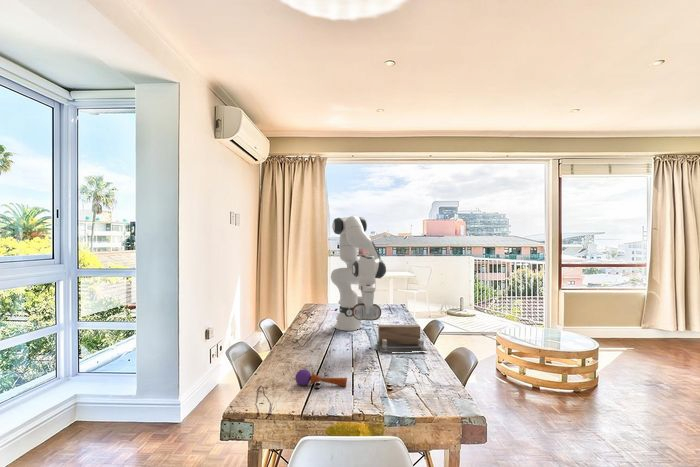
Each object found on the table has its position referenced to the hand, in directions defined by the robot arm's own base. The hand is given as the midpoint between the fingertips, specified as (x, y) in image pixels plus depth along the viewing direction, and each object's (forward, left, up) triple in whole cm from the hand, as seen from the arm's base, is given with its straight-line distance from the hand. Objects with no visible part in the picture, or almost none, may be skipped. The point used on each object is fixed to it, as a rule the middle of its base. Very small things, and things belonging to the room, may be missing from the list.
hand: (366, 312), depth 180 cm
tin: (+1, 0, -4) cm, 4 cm away
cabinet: (-2, +19, -19) cm, 27 cm away
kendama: (+43, -23, -20) cm, 52 cm away
